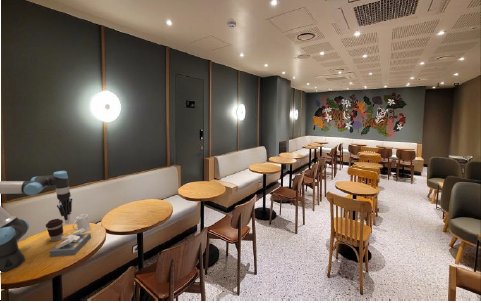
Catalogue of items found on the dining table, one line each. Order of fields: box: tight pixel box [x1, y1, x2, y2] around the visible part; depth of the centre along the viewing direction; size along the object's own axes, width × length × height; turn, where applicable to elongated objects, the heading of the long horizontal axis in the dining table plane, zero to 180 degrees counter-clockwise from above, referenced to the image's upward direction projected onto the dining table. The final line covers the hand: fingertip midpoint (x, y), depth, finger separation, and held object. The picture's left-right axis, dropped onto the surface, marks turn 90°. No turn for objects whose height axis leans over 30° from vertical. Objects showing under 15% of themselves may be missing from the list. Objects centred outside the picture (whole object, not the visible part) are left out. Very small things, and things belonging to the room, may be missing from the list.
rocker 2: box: [60, 233, 80, 242], centre depth 155 cm, size 10×4×2 cm, turn 98°
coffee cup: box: [45, 218, 64, 242], centre depth 164 cm, size 10×10×15 cm
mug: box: [72, 213, 91, 233], centre depth 176 cm, size 12×8×12 cm
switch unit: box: [49, 232, 92, 257], centre depth 155 cm, size 15×20×5 cm
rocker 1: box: [55, 237, 74, 249], centre depth 149 cm, size 10×4×2 cm, turn 96°
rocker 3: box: [69, 228, 85, 235], centre depth 161 cm, size 10×4×2 cm, turn 94°
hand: (68, 223), depth 158 cm, fingers closed
